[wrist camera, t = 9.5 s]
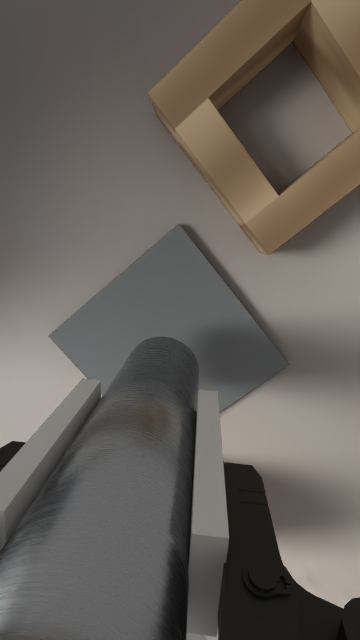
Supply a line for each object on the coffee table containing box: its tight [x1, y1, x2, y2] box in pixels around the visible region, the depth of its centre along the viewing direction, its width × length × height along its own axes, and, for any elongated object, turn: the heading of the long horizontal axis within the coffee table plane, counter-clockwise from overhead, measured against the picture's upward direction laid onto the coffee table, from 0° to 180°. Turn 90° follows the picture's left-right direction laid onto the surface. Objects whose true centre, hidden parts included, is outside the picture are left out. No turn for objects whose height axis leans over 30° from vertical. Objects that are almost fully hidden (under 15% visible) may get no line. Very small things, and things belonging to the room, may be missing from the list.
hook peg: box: [0, 337, 199, 640], centre depth 10 cm, size 5×5×16 cm
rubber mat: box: [49, 224, 289, 412], centre depth 21 cm, size 11×11×1 cm
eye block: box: [148, 0, 360, 254], centre depth 16 cm, size 10×10×3 cm
